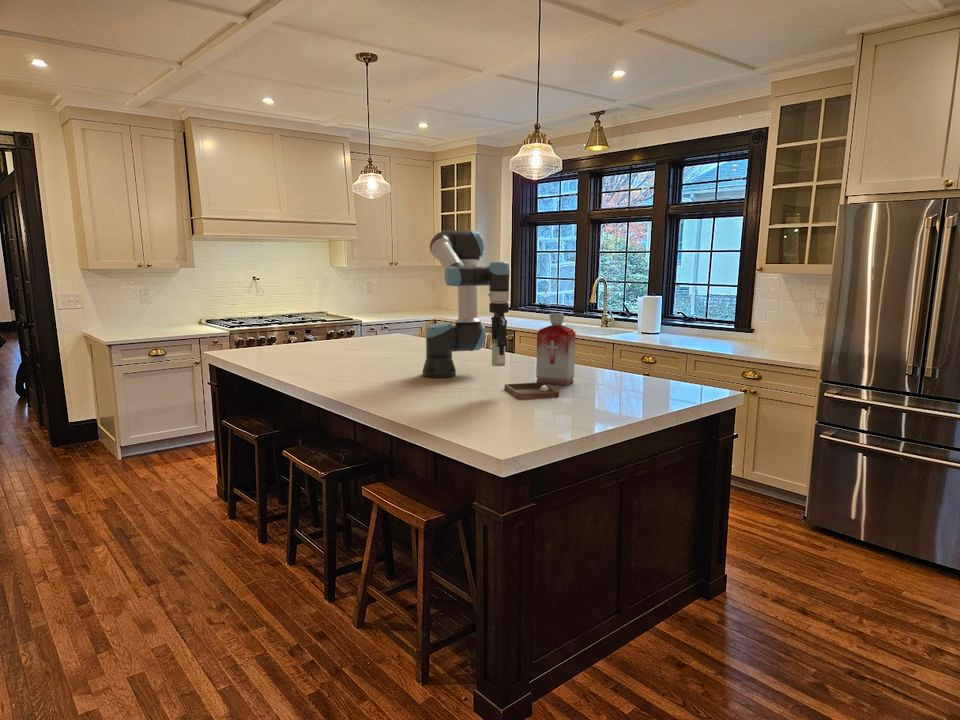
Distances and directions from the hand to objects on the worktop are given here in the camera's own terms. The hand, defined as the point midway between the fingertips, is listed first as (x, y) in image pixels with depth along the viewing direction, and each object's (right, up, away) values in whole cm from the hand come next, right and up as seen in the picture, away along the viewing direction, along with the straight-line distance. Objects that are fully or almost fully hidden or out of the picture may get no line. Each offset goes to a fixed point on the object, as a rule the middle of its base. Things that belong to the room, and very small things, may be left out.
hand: (498, 361), depth 244 cm
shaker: (0, -1, 0) cm, 1 cm away
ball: (+18, -13, 0) cm, 22 cm away
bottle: (+25, -10, +23) cm, 35 cm away
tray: (+13, -13, +3) cm, 19 cm away
